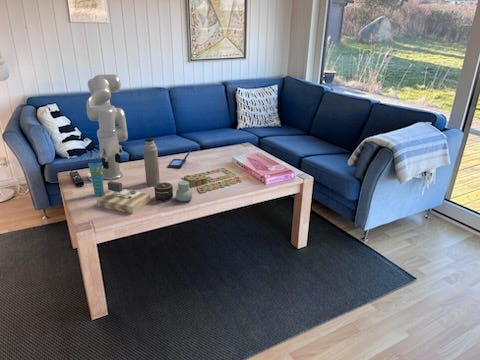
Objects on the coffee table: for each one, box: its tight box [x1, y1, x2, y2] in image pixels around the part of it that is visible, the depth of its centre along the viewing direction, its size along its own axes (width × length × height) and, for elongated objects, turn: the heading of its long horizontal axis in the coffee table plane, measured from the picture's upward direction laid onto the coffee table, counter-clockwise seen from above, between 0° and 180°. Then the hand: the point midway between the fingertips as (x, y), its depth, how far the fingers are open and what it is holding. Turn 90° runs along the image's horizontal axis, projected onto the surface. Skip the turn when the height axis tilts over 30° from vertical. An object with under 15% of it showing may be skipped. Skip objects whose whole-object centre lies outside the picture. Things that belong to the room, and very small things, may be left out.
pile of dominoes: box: [181, 167, 243, 194], centre depth 230 cm, size 35×27×6 cm
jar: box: [153, 182, 174, 202], centre depth 205 cm, size 10×10×8 cm
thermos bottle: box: [143, 137, 161, 187], centre depth 219 cm, size 8×8×28 cm
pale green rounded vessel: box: [175, 180, 193, 202], centre depth 203 cm, size 11×8×10 cm
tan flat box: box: [96, 188, 151, 214], centre depth 199 cm, size 22×17×4 cm
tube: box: [87, 161, 105, 197], centre depth 205 cm, size 7×5×19 cm, turn 103°
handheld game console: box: [167, 149, 192, 170], centre depth 254 cm, size 16×13×9 cm
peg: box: [107, 180, 132, 197], centre depth 197 cm, size 13×2×7 cm, turn 69°
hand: (112, 165), depth 192 cm, fingers open, 9 cm apart
